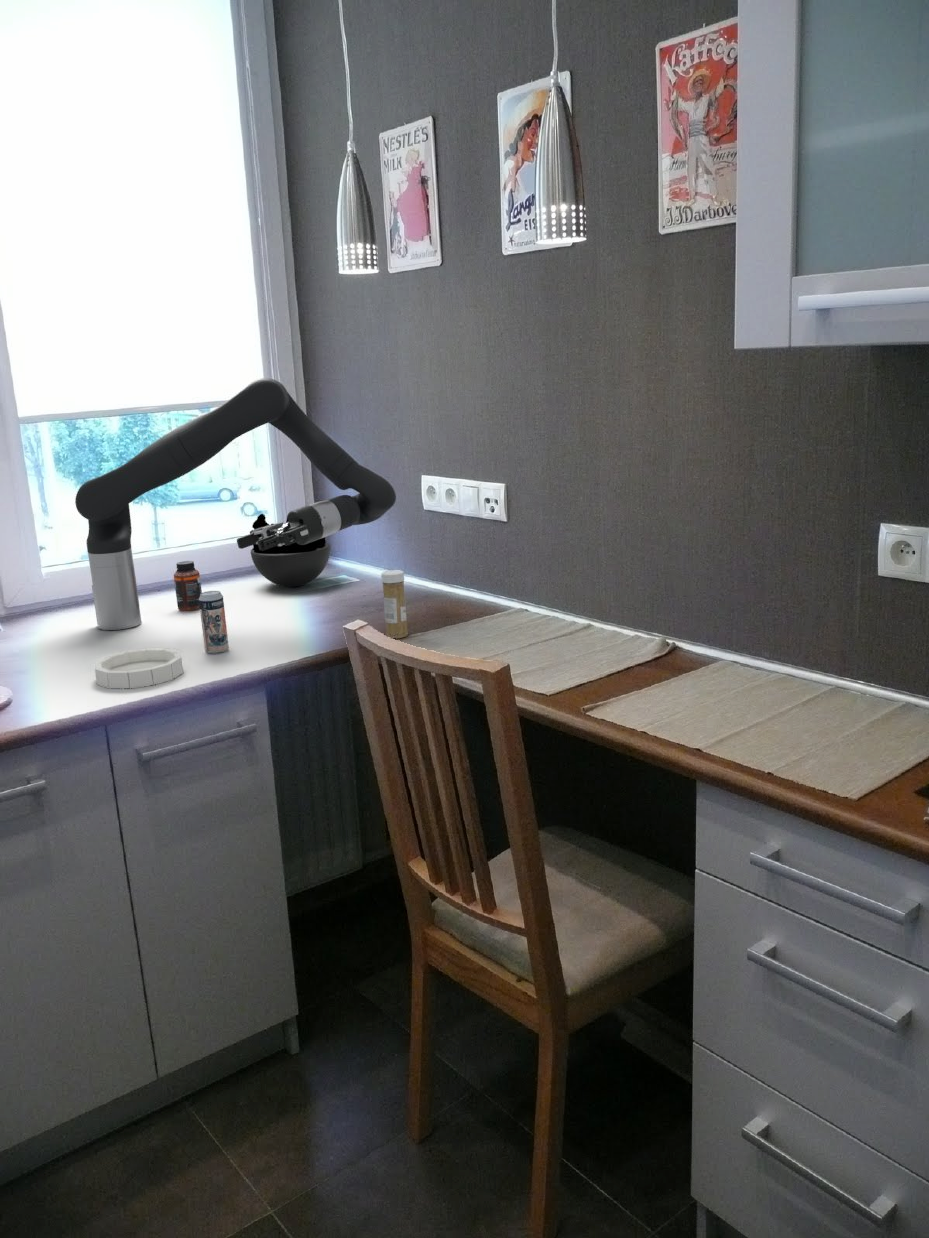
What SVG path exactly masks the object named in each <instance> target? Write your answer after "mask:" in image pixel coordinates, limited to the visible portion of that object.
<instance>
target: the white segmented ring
mask: <svg viewBox="0 0 929 1238" xmlns="http://www.w3.org/2000/svg"><path fill="white" fill-rule="evenodd" d="M94 672H95V679H96V685H97V686H101V687H103V688H107V689H111V688H120V690H121V688H122V689H123V690H125V689H124V688H130V689H131V688H132V689H137V688H144V686H146V687H151V686H150V685H153V686H156V685H160V684H163V683H165V681H166V682H169V681H173V680H175V679H176V678H178V677H179V676H180V674H181V675H182V674H184V667H183V658H182V655H181V651H178V650H174V649H171V648H143V649H142V648H141V649H134V650H127V651H123V652H119V653H115V654H112V655H108V656H105V657H104V658H102V659H100V660H98V661H96V662H94ZM174 678H175V679H174ZM155 684H156V685H155Z"/></svg>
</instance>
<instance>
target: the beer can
mask: <svg viewBox="0 0 929 1238" xmlns="http://www.w3.org/2000/svg"><path fill="white" fill-rule="evenodd" d="M199 605H200V609H199V613H200V620H201V622H200V623H201V630H202V638H203V645H204V651H205V652H206V653H208V654H211V655H216V654H217V655H218V654H222V653H225V652H227V651H228V650H229V648H230V645H229V637H228V636H229V635H228V630H227V620H226V611H225V604H224V595H223V594H222V593H221V591H220V590H210V591H209V590H208V591H204V592H202V593H201V594H200V598H199Z"/></svg>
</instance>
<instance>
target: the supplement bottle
mask: <svg viewBox="0 0 929 1238" xmlns="http://www.w3.org/2000/svg"><path fill="white" fill-rule="evenodd" d="M200 575H201V574H200V571H198V569H196V568H195V563H194V561H193V560H182V561H178V562H176V571H175V572H174V573H173V580H174V581H173V582H174V588H175V589H174V591H175V596H176V603H177V609H178V610H179V611H181V612H195V611H199V610H200V605H199V598H200V594H201V593H203V592H202V591H203V590H202V583H201V576H200Z"/></svg>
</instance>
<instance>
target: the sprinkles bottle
mask: <svg viewBox="0 0 929 1238" xmlns="http://www.w3.org/2000/svg"><path fill="white" fill-rule="evenodd" d="M380 575H381V576H380V577H381V578H380V579H381V584H382V589H383V590H382V591H383V592H382V593H383V609H384V619H385V620H384V621H385V628H386V635H387V636H389V637H394V638H396V640H397V639H402V638H406V637H407V636H409V635H408V634H409V632H408V622H407V607H406V597H405V585H404V582H405V573H404V571H403V570H399V569H392V570H385V571H383V572H381V574H380ZM387 636H386V637H387ZM394 638H393V639H394Z"/></svg>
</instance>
